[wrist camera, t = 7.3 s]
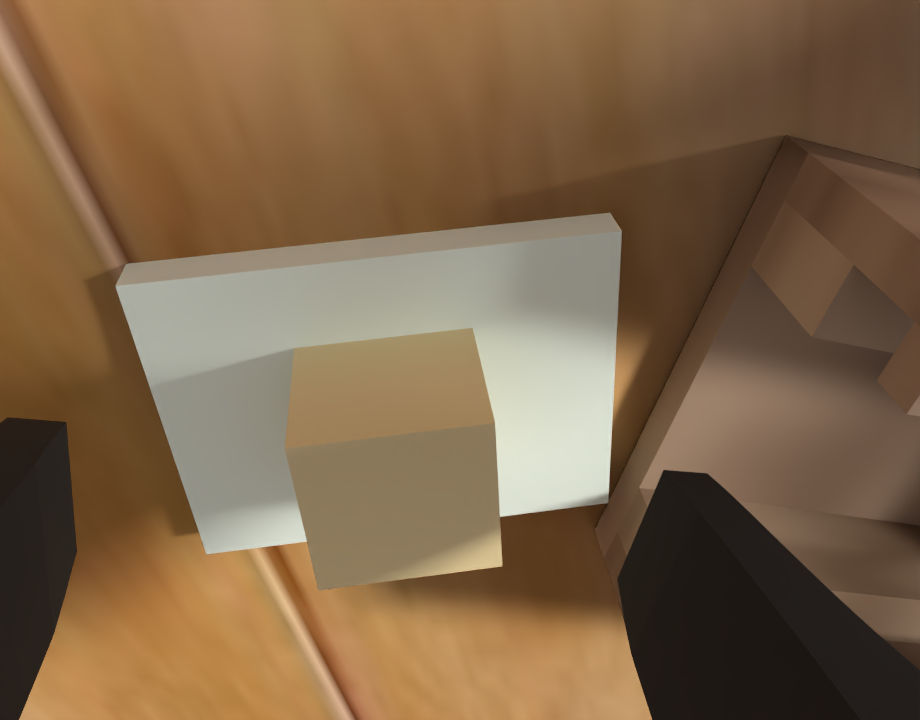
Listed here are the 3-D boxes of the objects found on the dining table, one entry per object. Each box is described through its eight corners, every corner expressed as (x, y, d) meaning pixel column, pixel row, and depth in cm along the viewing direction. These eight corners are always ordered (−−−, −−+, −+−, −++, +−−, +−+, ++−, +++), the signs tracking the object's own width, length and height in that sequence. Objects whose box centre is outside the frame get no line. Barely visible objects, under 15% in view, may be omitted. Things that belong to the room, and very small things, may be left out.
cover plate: (602, 200, 14) (674, 313, 11) (593, 463, 18) (646, 606, 15) (131, 251, 14) (68, 383, 11) (214, 510, 17) (184, 668, 14)
